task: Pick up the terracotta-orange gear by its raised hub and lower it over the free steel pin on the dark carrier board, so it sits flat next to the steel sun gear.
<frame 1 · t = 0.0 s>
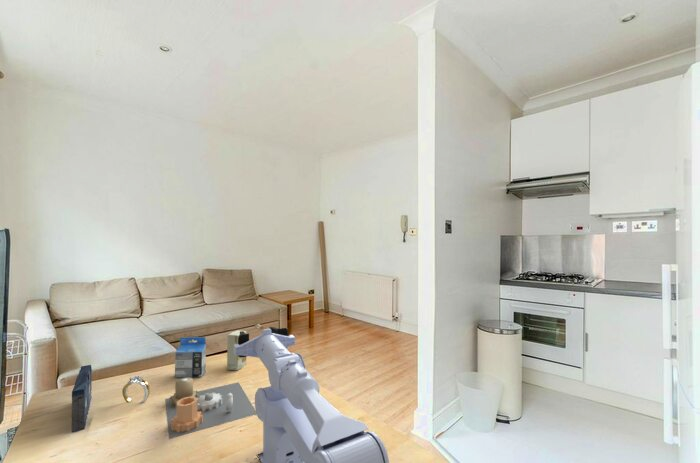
hand: (256, 332, 86), 22 cm above the table, tool horizontal, fingers open, 7 cm apart
planet gear: (186, 423, 80), point 1 cm above the table, touching carrier board
carrier board: (208, 408, 89), on the table
label tape box: (190, 375, 111), on the table
skincare box: (237, 367, 117), on the table
ring: (135, 406, 91), on the table
vhs cassette tape: (82, 415, 87), on the table
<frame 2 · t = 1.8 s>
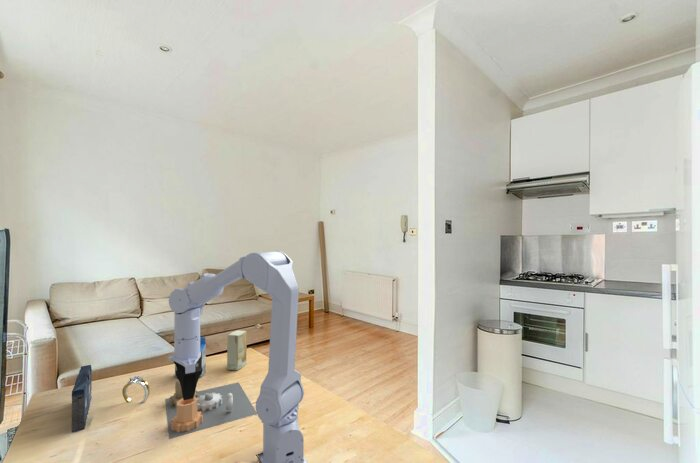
hand: (187, 391, 80), 9 cm above the table, tool pointing down, fingers open, 7 cm apart
nothing on the table moved.
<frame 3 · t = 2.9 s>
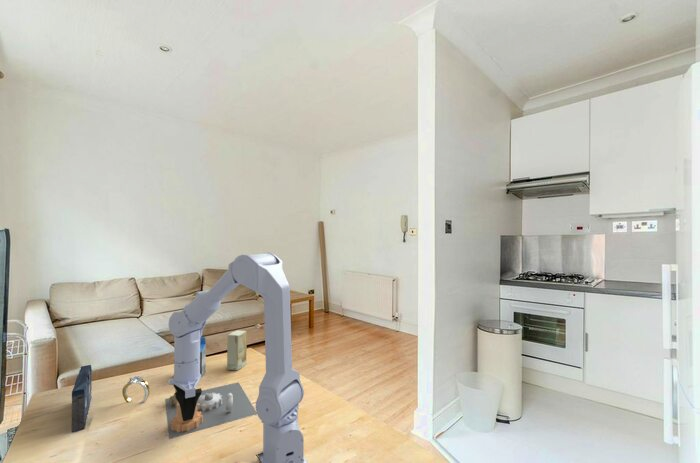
hand: (187, 414, 80), 3 cm above the table, tool pointing down, fingers closed on planet gear, 4 cm apart
planet gear: (186, 423, 80), point 1 cm above the table, touching carrier board, gripper
everything else where it was.
when the fingers open (4 cm above the table, at t = 6.9 s): planet gear stays where it is, resting on carrier board.
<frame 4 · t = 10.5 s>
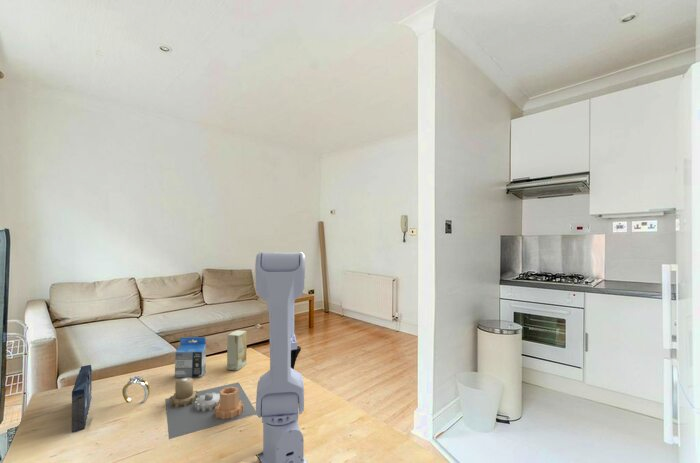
hand: (283, 368, 91), 10 cm above the table, tool pointing down, fingers open, 7 cm apart
planet gear: (229, 411, 86), point 1 cm above the table, touching carrier board
everything else where it was.
at the end: planet gear 0.0 cm from the target spot on the carrier board, point 1.2 cm above the carrier board's base; planet gear tilted 0°; the gripper is holding nothing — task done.
